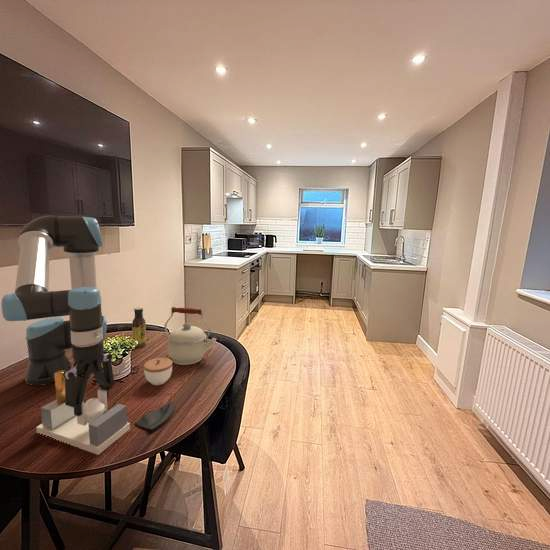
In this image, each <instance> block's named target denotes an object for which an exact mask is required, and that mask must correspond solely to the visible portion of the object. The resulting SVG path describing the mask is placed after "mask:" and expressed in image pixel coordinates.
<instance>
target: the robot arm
mask: <svg viewBox="0 0 550 550" xmlns="http://www.w3.org/2000/svg"><path fill="white" fill-rule="evenodd" d="M98 222H99V221H98V220H97V219H96V218H94V217H90V216H89V217H88V216H77V215H76V216H74V215H73V216H71V215H68V216H67V215H44V216H39V217H37V218H35V219H33V220H31V221H29V222H28V223H27V224H25V225H24V226H23V228H22V229H21V230H20V232H19V234H18V236H17V244H18V246H19V248H20V250H19V251H20V252H19V258H18V265H17V274H16V280H15V288H14V292H13V293H11V294H10V293H9V294H5V295H3V296H2V298H1V313H2V317H3V319H4V320H5V321H6V322H21V321H22V322H23V321H24V322H26V321H31V320H37V321H35V322H32V323H31V324H30V325H28V326H27V328H26V329H25V331H26V337H25V339H26V343H27V353H28V355H27V356H28V364H27V368H26V371H25V375H24V381H25V382H26V383H28V384H32V385H31V386H33V385H39V386H42V385H41V384H46V385H49V384H48V383H51V384H54V383H53V382H55V376H54V373H55V372H57V371H61V370H66V371H64V372H63V376H64V378H65V405H67V406H70V407H74V414H75V415H76V416H77V424H80V425H84V426H85V425H86V424H87V417H86V404H85V403H86V402H84V403H83V398H85V393H86V387H87V384H88V380H89V379H90V376H91V375H92V374H93V376H94V378H95V380H96V382H97V384H98V387H99V388H98V389H97V399H99V401H100V402H102V403H103V404H104V405H105V409H104V413H106V412H107V411H109V409H108V399H109V391H110V390H111V389H112V386H111V385H113V384H114V383H115V378H114V372H113V362H112V360H113V354H111V353H107V352H105V353H104V351H105V345H104V342H105V340H106V335H107V323H108V322H107V317H106V316H105V315H103V312H102V296H101V290H100V288H98V287H97V273H96V255H97V254H98V253H99V252H100V250H99V249H100V248H102V247H103V246H104V245H103V238H102V234H101V229H100V225H99V223H98ZM54 247H55V248H62V249H63V253H65V254H66V255H68V261H69V263H68V264H69V272H70V273H69V275H70V286H71V287H70V288H71V289H67V290H51V291H49V284H50V283H49V282H50V281H49V279H50V277H49V276H50V252H51V251H52V249H53V248H54ZM65 316H66V317H67V316H68V319H69V320H64V319H63V317H65ZM38 319H40V320H38ZM41 319H42V320H41ZM66 350H71V353H72V358H73V361H74V363H73V365H72V363H71V362H70V360H69V358H68V356H67V354H66V353H67V351H66ZM26 383H25V384H26ZM28 384H27V385H28Z"/></svg>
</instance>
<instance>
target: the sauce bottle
mask: <svg viewBox="0 0 550 550" xmlns="http://www.w3.org/2000/svg"><path fill="white" fill-rule="evenodd" d="M133 310H134V318H133V319H132V325H131V328H132V330H131V331H132V338H133V337H134V338H135V339H136V340H137V341H138V345H137V347H136V348H142V347H144V346H145V347H146V345H147V344H146V343H147V334H146V333H147V330H146V329H147V328H146V327H147V323H146V319H145V318H144V315H143V314H144V313H143V311H144V308H143V307H136V308H134V309H133Z"/></svg>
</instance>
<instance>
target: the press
mask: <svg viewBox="0 0 550 550" xmlns="http://www.w3.org/2000/svg"><path fill="white" fill-rule="evenodd" d="M35 428H36V434H38V433H40V434H39V435H41V434H43V435H42V436H44V435H46V436H45V437H47V436H49V437H52V438H54V439H53V440H55V439H56V440H55V441H58V440H59V441H58V442H61V441H62V442H61V443H63V442H64V444H66V443H67V445H69V444H70V446H73V447H75V448H77V447H78V448H77V449H80V450H83V451H86V452H89V453H90V454H91V453H92V454H94V455H97V456H98V455H101V454H102V453H103V452H104V451H105V450H106V449H108V448H109V447H110V446H111V445H113V444H114V443H115V442H116V441H117V440H119V439H120V438H122V436H124V435H125V434H126V433H127V432H128V431H130V430H131V423H130V422H128V413H127V405H124V404H121V403H117V404H116V405H115V406H113V407H111V408H110V409H108V410H107V411H106V412H103V414H102V415H101V416H100V417H98V418H97V419H95V420H94V421H92V422H91V423H90V424H88V423H87V424H86V425H85V426H84V425H80V424H77V416H76V415H75V416H74V417H72V418H70V419H69V420H67V421H65V422H64V423H62V424H61V425H59V426H57V427H56V428H54V429H53V430H52V429H49V428H46V427H43V425H42V423H41V424H39V425H38V426H36V427H35ZM49 437H48V438H49ZM52 438H51V439H52Z"/></svg>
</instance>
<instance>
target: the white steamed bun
mask: <svg viewBox="0 0 550 550" xmlns="http://www.w3.org/2000/svg"><path fill="white" fill-rule="evenodd" d="M84 403H85V404H86V417H87V423H88V424H90V423H91V422H92V421H94V420H95V419H97V418H98V417H100V416H101V415H103V414H104V413H105V411H104V409H105V405H104V404H103V403H102V402H100V401H99V399H98V397H92V398H90V399H87V400H86V402H84Z"/></svg>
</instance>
